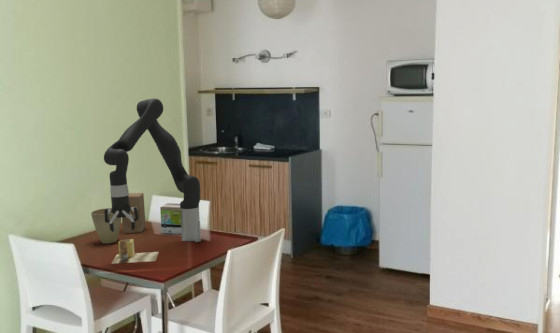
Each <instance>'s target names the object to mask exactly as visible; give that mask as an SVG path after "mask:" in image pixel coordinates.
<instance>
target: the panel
mask: <svg viewBox="0 0 560 333" xmlns="http://www.w3.org/2000/svg"><path fill="white" fill-rule="evenodd" d="M159 254H160V252H159V251H152V252H151V251H148V252H135V254H134V256H133V257H128V260H127V261H121V258H119V253H118V254H116V255H115V257H114V259H113V260H112V262H111V264H112V265H113V264H127V263H145V262H156V261H157V258H158V255H159Z"/></svg>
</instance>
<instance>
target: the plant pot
mask: <svg viewBox="0 0 560 333" xmlns="http://www.w3.org/2000/svg"><path fill="white" fill-rule="evenodd" d="M106 208H108V209H112V207H106ZM106 208H100V209H95V210H93V211H91V212H90V215H91V218H92V223H93V226H94V228H95V231H96V233H97V236H98V238H99V240H100V242H101V243H102V244H113V243H116V242H117V240H118V238H119V233H120V229H121V225H122V217H121V218H117V217H116V218H115V219H114V221H113V223H114V232H112V231H111V230H110V224H109V223H106V222H105V209H106ZM113 216H114V214H113V213H112V212H111V211H110V213H109V220H111V219H112V217H113Z"/></svg>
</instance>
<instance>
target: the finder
mask: <svg viewBox="0 0 560 333" xmlns="http://www.w3.org/2000/svg"><path fill="white" fill-rule="evenodd" d="M125 240H126V242H127V254H128V257H133V256H134V254H135V253H136V252H135V242H134V241H135V240H134V239H133V238H131V239H129V238H128V239H125ZM117 245H118V254H119V258H121V255H120V243H119V241H118V243H117Z"/></svg>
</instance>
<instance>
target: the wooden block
mask: <svg viewBox="0 0 560 333" xmlns="http://www.w3.org/2000/svg"><path fill="white" fill-rule="evenodd" d="M144 198H145V195H144V192H129V203H130V207H135V206H137V208H138V214H139V219H138V220H137V221H135V229H134V230H132V227H131V222H132V221H131V220H130V219H128V218H127V217H125V218H123V217H121V225H122V232H123V234H137V233H140V234H141V233H143V231H144V230H145V229H146V227H147V226H146V224H147V223H146V212H145V210H146V209H145V199H144ZM129 213H130V214H131V215H132V216H133V217H134V218H135V213H134V212H133V211H132V210H131V211H130V212H129Z"/></svg>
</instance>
